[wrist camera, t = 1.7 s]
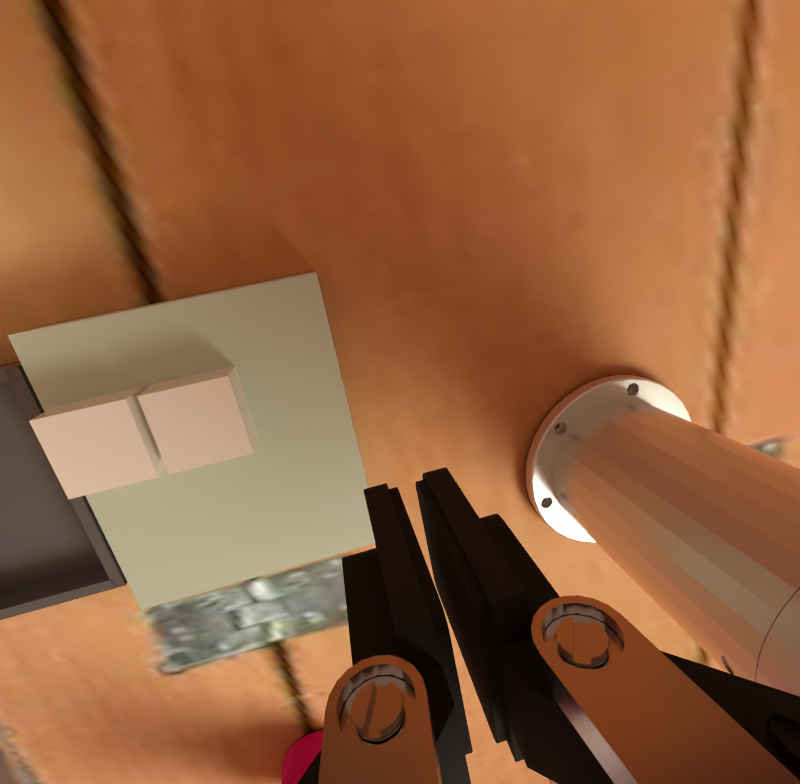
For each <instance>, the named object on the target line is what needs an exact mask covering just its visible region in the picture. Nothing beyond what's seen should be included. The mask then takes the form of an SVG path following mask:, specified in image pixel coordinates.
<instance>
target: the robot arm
mask: <svg viewBox="0 0 800 784" xmlns="http://www.w3.org/2000/svg"><path fill="white" fill-rule="evenodd" d="M526 487H527V491H528V495H529V499H530V501H531V503H532V505H533V507H534V509H535V511H536V512H537V513H538V514H539V515H540V517H541V518H542V519H543V520H544V521H545V522H546V523H547V524H548V525H549V526H550V527H551V528H552V529H553V530H554V531H556V532H557V533H559V534H561V535H563V536H565V537H566V538H570V539H573V540H577V541H582V542H596V543H597V544H598V545H599V546H600V547H601V548H602V549H603V550H604V551H605V552H606V553H607V554H608V555H609V556H610V557H611V558H612V559H613V560H614V561H615V562H616V563H617V564H618V565H619V566H620V567H621V568H622V569H623V570H624V571H625V572H626V573H627V574H628V575H629V576H630V577H631V578H632V579H633V580H634V581H635V582H636V583H637V584H638V585H639V586H640V587H641V588H642V589H644V590H645V591H646V592H647V593H648V594H649V595H650V596H651V597H652V598H653V599H654V600H655V601H656V602H657V603H658V604H659V605H660V606H661V607H662V608H663V609H664V610H665V611H666V612H667V613H668V614H669V615H670V616H671V617H672V618H673V619H674V620H675V621H676V622H677V623H678V624H679V625H680V626H681V627H682V628H683V629H684V630H685V631H686V632H687V633H688V634H689V635H690V636H691V637H692V638H693V639H694V640H695V641H696V642H697V643H698V644H699V645H700V646H701V647H702V648H703V649H704V650H705V651H706V652H707V653H708V654H709V655H710V656H711V657H712V658H713V659H714V660H715V661H716V662H717V663H718V664H719V665H720V666H721V667H722V668H723V669H724V670H725V671H726V672H727V673H726V672H723V671H720V670H717V669H714V668H711V667H708V666H705V665H702V664H699V663H696V662H693V661H690V660H687V659H684V658H680V657H677V656H674V655H671V654H668V653H665V652H662V651H660V650H659V649H658V648H657V647H655V646H654V645H653V644H652V643H651V642H650V641H649V640H648V639H647V638H646V637H645V636H644V635H643V634H642V633H640V632H639V631H638V630H637V629H636V628H635V627H634V626H633V625H632V624H631V623H630V622H629V621H628V620H627V619H625V618H624V617H623V616H622V615H621V614H620V613H618V612H617V611H616V610H614V609H613V608H612V607H610V606H609V605H607V604H605V603H603V602H600V601H598V600H596V599H593V598H588V597H583V596H562V597H559V595H558V594H557V592H556V591H555V590H554V588H553V587H552V586H551V584H550V583H549V582H548V580H547V579H546V577H545V576H544V575H543V573H542V572H541V571H540V569H539V568H538V567H537V565H536V564H535V562H534V561H533V560H532V558H531V557H530V556H529V554H528V553H527V552H526V550H525V549H524V548H523V546H522V545H521V543H520V542H519V541H518V539H517V538H516V537H515V535H514V534H513V533H512V531H511V530H510V528H509V527H508V526H507V524H506V523H505V522H504V520H503V519H502V518H501V517H500V516H499V515H498V514H493V515H490V516H486V517H483V518H479V517H478V516H477V514H476V512H475V511H474V509H473V508H472V506H471V505H470V503H469V502H468V500H467V499H466V497H465V495H464V494H463V492H462V491H461V489H460V488H459V486H458V485H457V483H456V482H455V480H454V478H453V477H452V475H451V474H450V472H449V471H448V469H447V468H441V469H438V470H434V471H430V472H426V473H423V480H421V481H418V482H416V490H417V495H418V500H419V505H420V510H421V515H422V520H423V525H424V530H425V535H426V540H427V545H428V550H429V555H430V560H431V565H432V570H433V575H434V579H435V583H436V587H437V590H438V593H439V595H440V598H441V601H442V603H443V606H444V608H445V611H446V614H447V616H448V619H449V622H450V624H451V627H452V629H453V632H454V635H455V637H456V640H457V643H458V645H459V648H460V650H461V653H462V656H463V658H464V661H465V664H466V666H467V669H468V671H469V674H470V677H471V679H472V682H473V684H474V687H475V690H476V692H477V695H478V698H479V700H480V703H481V705H482V708H483V711H484V713H485V716H486V719H487V721H488V724H489V726H490V729H491V732H492V734H493V737H494V739H495V741H496V743H500V742H503V741H505V740H507V742H508V745H509V747H510V749H511V752H512V754H513V757H514V759H515V762H517V761H520V760H523V759H524V760H525V763H526V765H527V767H528V768H530V769H532V770H534V771H535V772H537V773H539V774H541V775H543V776H545V777H547V778H548V779H549V781H550V784H800V469H798V468H796V467H794V466H792V465H789V464H787V463H785V462H782V461H780V460H778V459H775V458H773V457H771V456H768V455H766V454H764V453H761V452H759V451H757V450H754V449H752V448H750V447H747V446H745V445H743V444H740V443H738V442H736V441H734V440H731V439H729V438H727V437H724V436H722V435H720V434H717V433H715V432H713V431H710V430H708V429H706V428H703V427H701V426H699V425H696V424H694V423H692V422H691V418H690V415H689V412H688V410H687V409H686V407H685V405H684V403H683V402H682V400H681V399H680V398H679V397H678V396H677V395H676V394H675V393H674V392H673V391H672V390H671V389H669V388H667V387H666V386H664V385H662V384H661V383H658V382H656V381H653V380H650V379H648V378H645V377H640V376H634V375H613V376H608V377H604V378H600V379H597V380H594V381H592V382H590V383H587V384H585V385H583V386H581V387H580V388H578V389H577V390H575V391H573V392H572V393H570V394H569V395H567V396H566V397H565V398H564V399H563V400H562V401H561V402H560V403H559V404H557V405H556V406H555V407H554V408H553V409H552V411H551V412H550V413H549V414H548V416H547V417H546V418H545V419H544V421H543V422H542V424H541V426H540V427H539V429H538V431H537V433H536V434H535V436H534V438H533V441H532V444H531V447H530V450H529V452H528V457H527V463H526ZM363 491H364V495H365V500H366V504H367V508H368V513H369V517H370V522H371V526H372V530H373V535H374V539H375V544H376V548H375V549H371V550H368V551H364V552H361V553H357V554H354V555H350V556H347V557H343V558H342V565H343V575H344V585H345V594H346V604H347V614H348V623H349V633H350V643H351V653H352V662H353V666H352V667H351V668H349V669H348V670H347V671H346V672H345V673H344V674H343V675H342V676H341V677H340V678H339V679H338V681H337V682H336V684H335V686H334V687H333V689H332V691H331V693H330V695H329V697H328V702H327V706H326V710H325V717H324V728H323V739H322V748H321V750H320V751H319V753H318V754H317V756H316V757H315V759H314V760H313V761H312V763H311V764H310V766H309V767H308V769H307V770H306V772H305V773H304V774H303V776H302V777H301V779H300V780H299V782H298V783H297V784H471V782H470V777H469V772H468V767H467V762H466V757H465V755H466V754H469V753H472V746H471V741H470V736H469V730H468V725H467V720H466V715H465V710H464V705H463V700H462V695H461V690H460V684H459V679H458V674H457V669H456V664H455V659H454V654H453V649H452V644H451V638H450V633H449V629H448V625H447V621H446V617H445V614H444V611H443V607H442V604H441V602H440V599H439V596H438V594H437V591H436V588H435V586H434V583H433V580H432V578H431V575H430V572H429V570H428V567H427V564H426V562H425V559H424V556H423V554H422V551H421V549H420V546H419V543H418V541H417V538H416V535H415V533H414V530H413V527H412V525H411V522H410V519H409V517H408V514H407V511H406V509H405V506H404V503H403V501H402V498H401V495H400V493H399V490H398V488H397V487H395V488H392V489H388V486H387V484H386V483H385V484H382V485H378V486H374V487H371V488H367V489H363Z"/></svg>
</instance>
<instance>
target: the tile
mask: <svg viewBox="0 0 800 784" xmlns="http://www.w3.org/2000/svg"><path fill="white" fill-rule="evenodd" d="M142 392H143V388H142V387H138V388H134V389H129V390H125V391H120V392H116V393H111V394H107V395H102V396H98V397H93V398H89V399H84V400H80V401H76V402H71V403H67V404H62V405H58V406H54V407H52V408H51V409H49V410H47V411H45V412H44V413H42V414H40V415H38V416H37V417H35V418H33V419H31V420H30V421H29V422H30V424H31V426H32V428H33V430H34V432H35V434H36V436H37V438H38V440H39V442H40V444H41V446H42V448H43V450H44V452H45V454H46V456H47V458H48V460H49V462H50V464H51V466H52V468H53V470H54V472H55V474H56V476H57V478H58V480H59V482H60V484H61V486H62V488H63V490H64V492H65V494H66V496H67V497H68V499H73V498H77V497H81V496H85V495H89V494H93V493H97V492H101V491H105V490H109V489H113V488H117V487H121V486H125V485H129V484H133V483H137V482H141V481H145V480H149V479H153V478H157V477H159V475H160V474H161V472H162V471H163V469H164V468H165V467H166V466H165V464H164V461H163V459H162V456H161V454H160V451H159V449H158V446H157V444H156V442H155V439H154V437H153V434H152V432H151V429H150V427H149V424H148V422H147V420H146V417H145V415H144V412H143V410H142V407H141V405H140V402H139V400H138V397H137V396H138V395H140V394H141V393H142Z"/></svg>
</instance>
